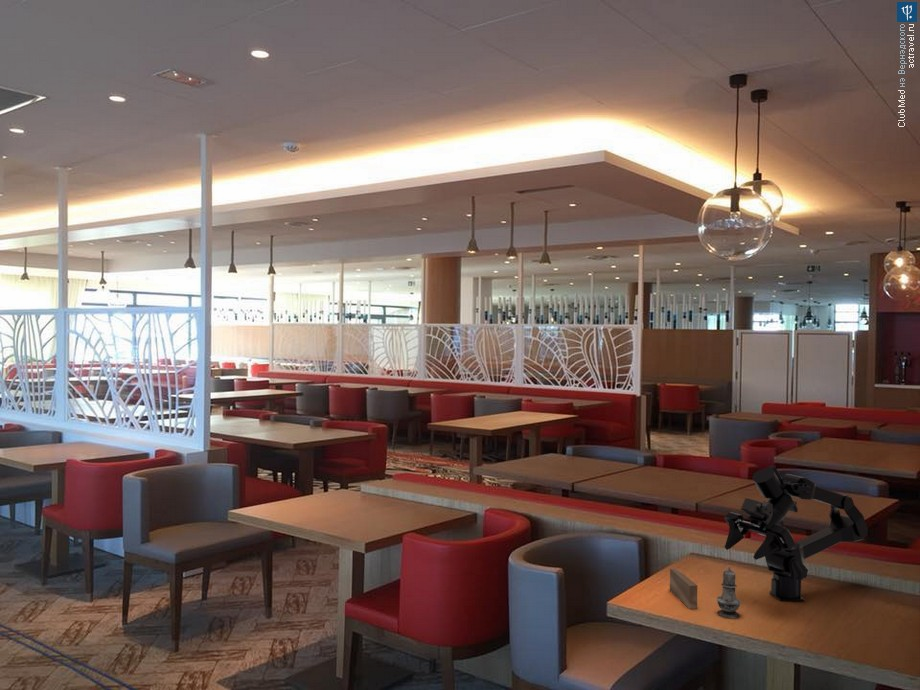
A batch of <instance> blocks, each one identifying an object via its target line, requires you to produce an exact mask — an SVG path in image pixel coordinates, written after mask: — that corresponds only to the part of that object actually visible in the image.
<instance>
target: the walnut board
mask: <svg viewBox="0 0 920 690" xmlns="http://www.w3.org/2000/svg"><path fill="white" fill-rule="evenodd" d="M669 591H670V592H671V593H672V594H673V595H674V596H675V597H676V598H677V599H678V600H679V599H680V600H679V601H680V602H681V601H682V602H683V603H682V602H681V603H682V604H683V605H685V607H687V609H689V610H698V584H697V583H695V582H694V581H693V580H691V578H689V577H688V576H687V575H686V574H685V573H683V572H682V571H681V570H680V569H679V568H669Z"/></svg>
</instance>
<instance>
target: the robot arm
mask: <svg viewBox="0 0 920 690" xmlns="http://www.w3.org/2000/svg"><path fill="white" fill-rule="evenodd" d="M752 481H753V482H754V484H755V486H756V487H757V488H756V489H758V491H759V492H760V495H761V496H762V497H763V498H765V499H767V500H766V501H765V500H764V501H762V502H761V501H758V500H755V499H752V498H751V499H750V498H747V497H745V498H744V500H743V501H742V505H741V507H740V510H741V511H743V512H745V513H747V516H746V517H747V518H748V520H750V521H747V520H746V519H745V518H744V516H743V515H742V514H740V513H736V512H733V511H731V512H728V513H727V514H726V515H725V516H724V518H723V519H724V520H725V522H726V524H727V525H728V527H729V529H728V535H727V537H726V541H725V544H724V548H725V550H726V551H728V550H730V549H732V548H733V547H734V546H736V545H737V544H738V543H739V542H741V541H742V540H743V539H744V538H745V535H747V533H749V531H750V532H753V533H756V534H757V535H761V536H764V537H765V539H764V540H763V542H762V543H761V544H760V546H759V547H758V548H757V550H756V552H754V554H753V556H752V558H753V560H755V561H757V560H759V559H761V558H764V557H765V562H766V565H767V569H768V570H767V571H769V572H773V573H772V575H773V576H772V578H771V579H770V580H771V581H770V584H771V587H770V588H771V589H770V591H769V594H770V595H771V596H773V597H774V598H776V599H777V600H779V601H780V602H804V601H805V598H803V597H802V580H803V579H806V578H807V576H808V572H809V569H808V568H807V567H806V566H805V564H804V563H805V560H806V559H809V558H810V557H813V556H815V555H817V554H819V553H821V552H822V551H825V550H827V549H829V548H831V547H833V546H835V545H838V544H839V543H854V542H858V541H862V540H864V539H865V538H866V537H867V535H868V530H869V529H868V526H867V523H866V520H865V517H864V515H863V513H861V511H860V510H859V509H858V508H857V506H856V505H855V503H854V499H853V498H852V497H851V496H849V495H846V494H842V493H838V492H835V491H832V490H830V489H827V488H823V487H820V486H818V485H816V483H815V482H814V481H812V480H811V479H809V478H807V477H804V476H800V475H795V474H791V473H785V474H784V475H782V477H781V475H780V474H779V472H778V468H777V467H776V466H773V465H768V466H767V467H766V468H762V469H760V470H758V471H756V472H754V473H753V475H752ZM793 498H797V499H800V500H814V501H816V502H820V503H823V504H827V505H829V506H830V512H829V519H830V521H829V524H828V526H827V527H825V528H823V529H820V530H819V531H817V532H814V533H812V534H810V535H808V536H806V537H803V538H802V539H799V540H796V541H795V539H794V537H793V536H792V533H791V532H790V530H789V528H787V527H785V526H784V525H785V523H784V521H783V520H784V518H785V517H786V516H787V514H789V512H791V513H792V512H793V513H798V510H799V509H798V508H799V507H798V505H797V504H798V503H797V501H794V499H793ZM840 510H844V513H845V514H842V513H841V512H840Z"/></svg>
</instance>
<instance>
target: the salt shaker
mask: <svg viewBox="0 0 920 690" xmlns="http://www.w3.org/2000/svg"><path fill="white" fill-rule="evenodd" d="M737 585H738V584H736V573H735V572H734V571H733V570H732V568H731V567H730V566H728V568H727V569H726V570H724V571H723V574H722V583H721V586H722V593H721V595H720V596H717V597H716V601H717V606H718V607H719V608H720V610H718V611H717V613H718V614H719V615H718V614H717V615H718V616H720V617H722V618H725V619H737V618H739V617H740V616H741V615H740V613H739V612H737V610H739V609H740V606H741V604H742V600H740V598H737V596H736V588H737Z"/></svg>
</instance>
